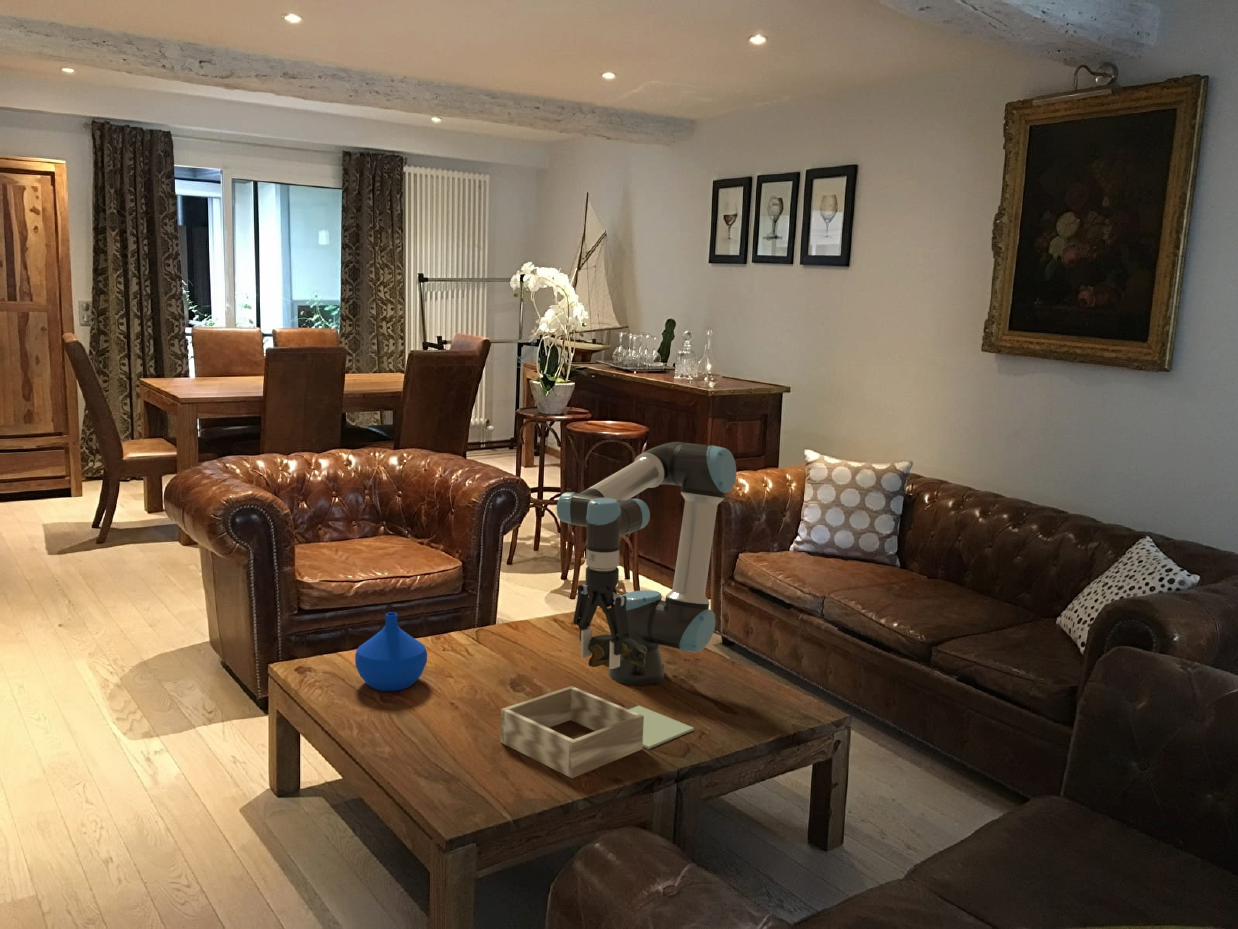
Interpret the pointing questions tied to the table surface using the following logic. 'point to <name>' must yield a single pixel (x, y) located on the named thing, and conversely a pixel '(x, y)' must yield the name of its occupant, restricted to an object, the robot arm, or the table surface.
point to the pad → (659, 727)
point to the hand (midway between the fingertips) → (600, 661)
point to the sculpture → (602, 651)
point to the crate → (570, 757)
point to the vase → (391, 658)
